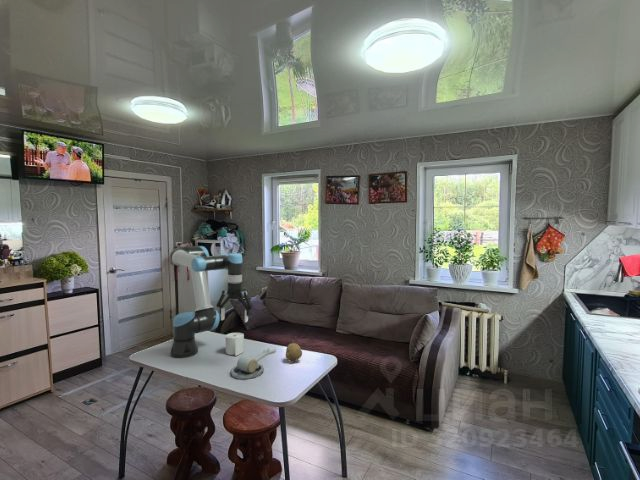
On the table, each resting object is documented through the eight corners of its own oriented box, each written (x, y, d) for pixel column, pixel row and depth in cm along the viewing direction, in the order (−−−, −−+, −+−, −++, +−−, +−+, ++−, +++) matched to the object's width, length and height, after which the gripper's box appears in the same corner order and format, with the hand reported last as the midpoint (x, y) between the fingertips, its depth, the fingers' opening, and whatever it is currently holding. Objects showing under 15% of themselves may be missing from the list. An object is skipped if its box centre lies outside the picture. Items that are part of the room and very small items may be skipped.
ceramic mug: (248, 375, 166) (248, 360, 166) (236, 372, 170) (236, 357, 170) (263, 368, 175) (263, 354, 175) (251, 365, 179) (251, 351, 179)
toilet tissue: (236, 347, 208) (236, 331, 208) (249, 351, 201) (249, 335, 200) (221, 352, 200) (221, 335, 199) (234, 357, 192) (234, 339, 192)
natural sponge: (304, 359, 188) (304, 342, 188) (297, 365, 180) (297, 347, 180) (290, 357, 192) (290, 340, 191) (283, 363, 183) (282, 345, 183)
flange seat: (225, 378, 165) (225, 374, 165) (239, 365, 181) (239, 361, 181) (256, 380, 162) (256, 376, 162) (267, 367, 178) (267, 363, 178)
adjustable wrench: (250, 367, 179) (250, 364, 179) (241, 365, 182) (241, 361, 182) (277, 351, 201) (277, 348, 201) (269, 350, 204) (268, 347, 204)
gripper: (210, 282, 180) (209, 320, 181) (254, 284, 175) (253, 324, 177) (216, 279, 187) (216, 317, 188) (259, 282, 183) (258, 320, 184)
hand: (234, 320), depth 182 cm, fingers open, 13 cm apart
